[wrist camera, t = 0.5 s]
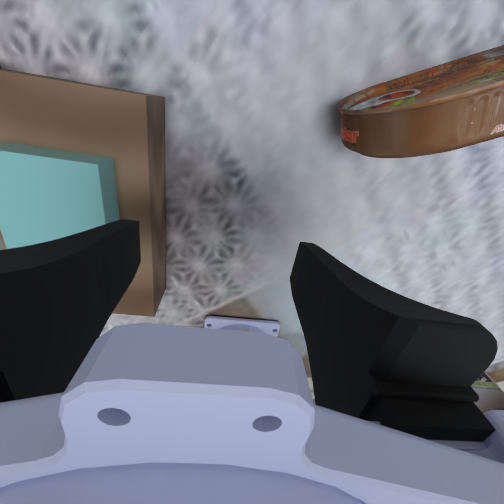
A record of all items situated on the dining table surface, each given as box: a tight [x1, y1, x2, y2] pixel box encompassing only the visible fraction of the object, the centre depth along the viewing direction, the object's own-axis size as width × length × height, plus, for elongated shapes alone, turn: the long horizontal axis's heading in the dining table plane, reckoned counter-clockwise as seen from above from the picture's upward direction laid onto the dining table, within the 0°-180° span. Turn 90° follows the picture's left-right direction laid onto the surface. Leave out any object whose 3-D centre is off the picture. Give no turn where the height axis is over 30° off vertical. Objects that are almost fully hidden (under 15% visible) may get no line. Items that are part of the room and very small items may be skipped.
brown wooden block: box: [0, 68, 166, 317], centre depth 19 cm, size 16×10×4 cm, turn 171°
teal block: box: [0, 141, 120, 249], centre depth 16 cm, size 9×6×2 cm, turn 171°
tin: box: [337, 45, 504, 158], centre depth 14 cm, size 15×3×8 cm, turn 106°
